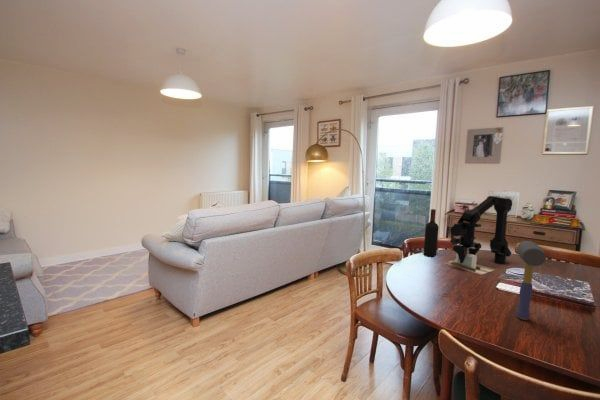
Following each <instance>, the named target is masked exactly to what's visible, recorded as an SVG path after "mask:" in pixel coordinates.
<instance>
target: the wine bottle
mask: <svg viewBox="0 0 600 400" xmlns="http://www.w3.org/2000/svg"><path fill="white" fill-rule="evenodd" d="M436 211H437V209H435V208H432V209H431V208H430V217H429V222H427V223H426V224H425V227H424V229H425V230H424V231H425V232H424V244H423V245H424V247H423V256H424V257H426V258H427V257H428V258H435V257H436V256H437V251H438V241H439V225H438V224H437V223H436V213H437V212H436Z"/></svg>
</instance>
